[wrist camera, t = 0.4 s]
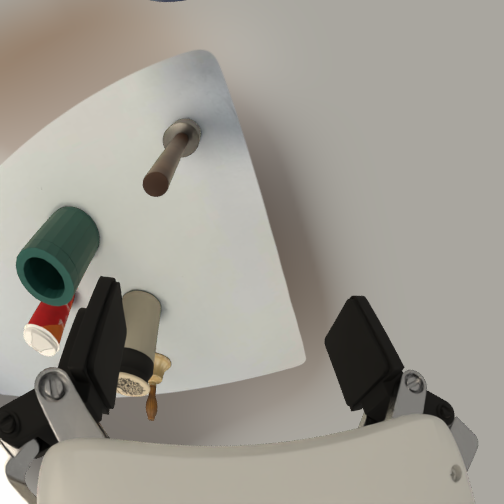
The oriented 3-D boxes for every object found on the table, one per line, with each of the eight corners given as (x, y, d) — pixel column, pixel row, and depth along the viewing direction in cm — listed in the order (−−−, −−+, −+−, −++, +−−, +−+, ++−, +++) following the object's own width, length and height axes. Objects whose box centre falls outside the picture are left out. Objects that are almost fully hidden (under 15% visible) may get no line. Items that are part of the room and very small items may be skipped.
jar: (44, 208, 35) (7, 248, 25) (93, 204, 37) (60, 247, 27) (58, 258, 41) (31, 304, 31) (104, 258, 42) (83, 308, 32)
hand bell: (156, 348, 57) (151, 410, 44) (177, 365, 62) (176, 423, 49) (131, 356, 58) (123, 414, 45) (152, 372, 63) (148, 427, 50)
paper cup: (70, 309, 48) (50, 362, 36) (43, 288, 44) (17, 339, 32) (85, 293, 46) (63, 349, 34) (56, 269, 42) (27, 323, 30)
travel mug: (156, 288, 47) (143, 374, 32) (164, 318, 52) (157, 398, 37) (117, 289, 46) (93, 371, 32) (128, 318, 51) (112, 395, 36)
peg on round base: (168, 119, 32) (121, 155, 15) (201, 118, 32) (187, 151, 16) (168, 150, 34) (128, 215, 18) (200, 149, 35) (188, 213, 18)
